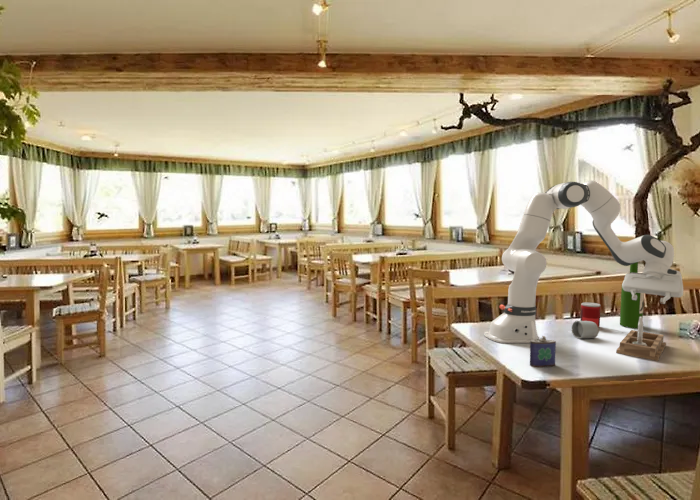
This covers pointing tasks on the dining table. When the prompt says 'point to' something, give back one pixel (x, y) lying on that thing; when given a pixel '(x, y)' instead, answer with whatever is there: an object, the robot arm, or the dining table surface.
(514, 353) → the dining table surface
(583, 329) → the ceramic mug
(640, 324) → the screw
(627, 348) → the rack
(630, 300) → the wine bottle
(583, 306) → the canned food
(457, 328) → the dining table surface
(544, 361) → the flask
